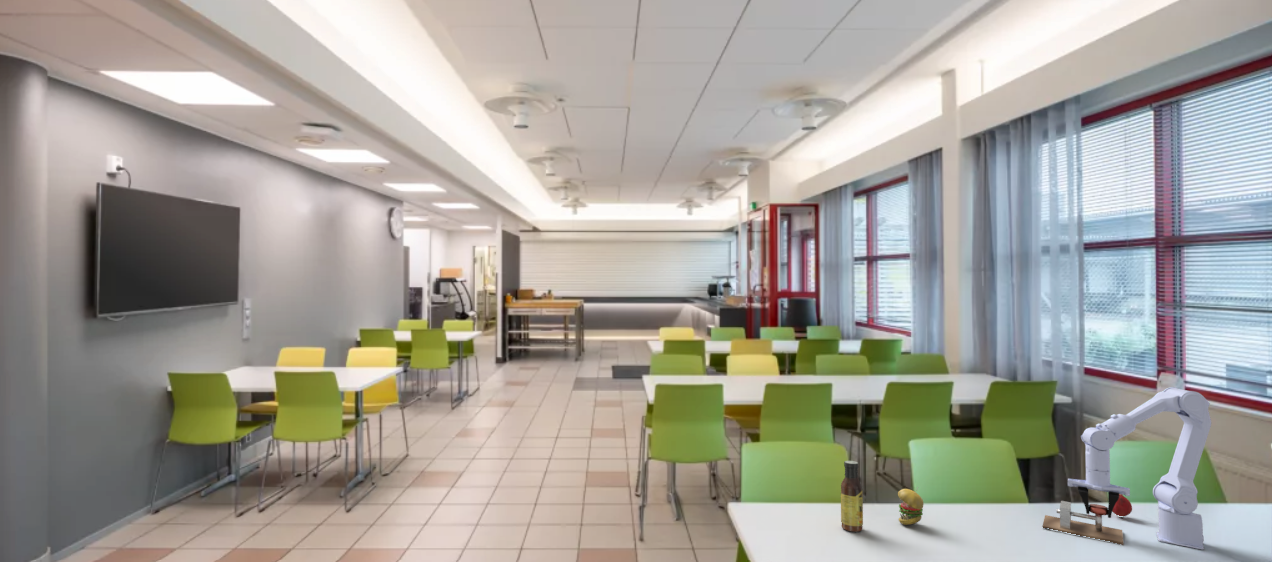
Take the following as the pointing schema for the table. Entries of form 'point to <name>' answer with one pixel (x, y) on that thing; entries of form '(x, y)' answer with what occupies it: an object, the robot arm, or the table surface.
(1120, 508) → the onion
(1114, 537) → the board
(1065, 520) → the grey rectangular block
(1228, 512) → the table surface
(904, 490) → the hamburger
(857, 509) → the sauce bottle
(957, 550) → the table surface
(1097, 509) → the red knob lever
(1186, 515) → the robot arm
